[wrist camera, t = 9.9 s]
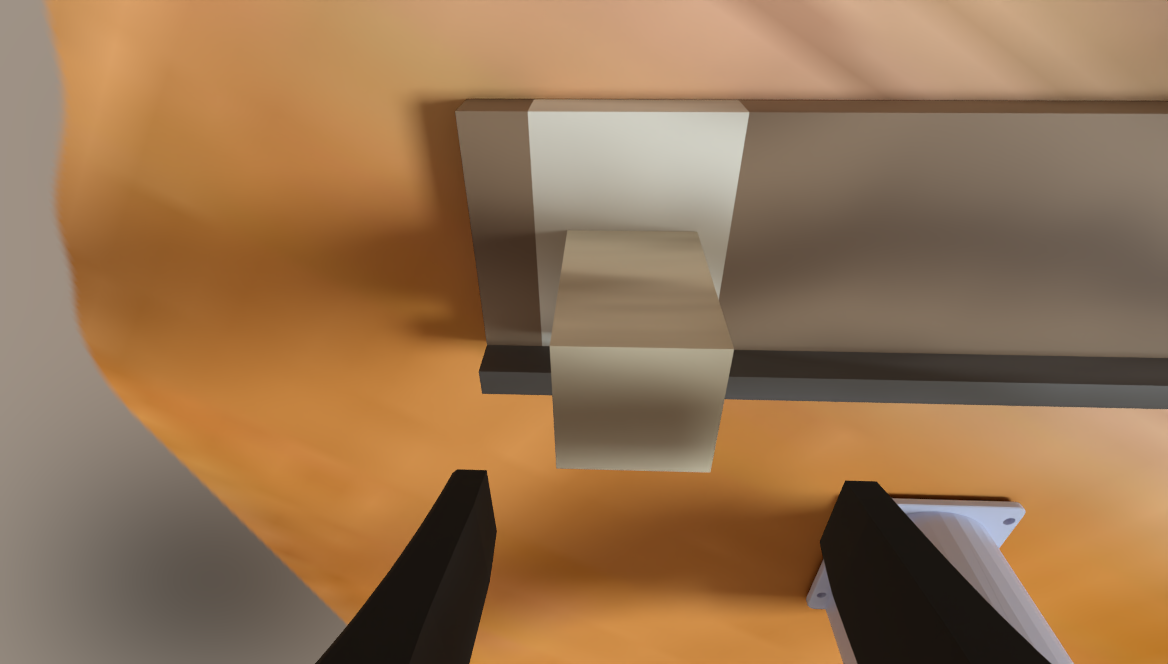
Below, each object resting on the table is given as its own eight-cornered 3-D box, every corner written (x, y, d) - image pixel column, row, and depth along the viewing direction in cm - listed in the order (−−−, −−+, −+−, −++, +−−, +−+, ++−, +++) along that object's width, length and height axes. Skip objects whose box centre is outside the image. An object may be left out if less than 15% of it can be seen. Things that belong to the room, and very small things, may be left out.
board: (1181, 355, 20) (1260, 411, 18) (497, 342, 21) (482, 393, 19) (1386, 101, 15) (1538, 130, 13) (467, 99, 16) (440, 125, 13)
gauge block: (684, 336, 19) (710, 472, 14) (570, 335, 19) (556, 468, 14) (697, 231, 16) (733, 349, 12) (567, 230, 17) (549, 346, 12)
